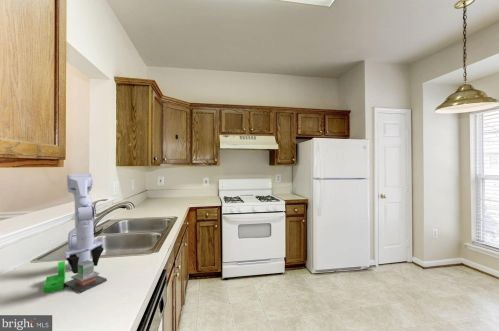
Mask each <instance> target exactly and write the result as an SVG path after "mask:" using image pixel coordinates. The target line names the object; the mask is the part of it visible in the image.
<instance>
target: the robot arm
mask: <svg viewBox="0 0 499 331" xmlns="http://www.w3.org/2000/svg"><path fill="white" fill-rule="evenodd" d="M66 182H67V183H66V185H67V192H68V193H70V194H72V195H73V199H74V225H75V227H74V228H73V229H72V230H70V231H69V232H68V237H67V249H68V250H67V251H64V252H63V258H64V259H66V261H67V265H65V269H66V268H67V269H69V270H72V273H73V274H74V275H77V274H78V263H81V262H84V261H87V260H89V261H92V262H94V267H97V266H98V263H99V261H100V257H101V255H102V253H103V251H104V247H105V241H103V240H101V241H96V242H95V235H94V234H95V233H94V220H95V217H96V209H95V206H94V204H93V203H92V197H91V195H90V194H88V193H89V192H90V191H92V189H93V184H94V176H93V174H92V173H82V174H81V173H80V174H79V173H75V174H69V173H68V175H66ZM91 256H92V257H91ZM91 258H92V260H91Z"/></svg>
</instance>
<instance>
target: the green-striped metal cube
mask: <svg viewBox="0 0 499 331" xmlns="http://www.w3.org/2000/svg"><path fill="white" fill-rule="evenodd" d="M94 271H95V266H94V262H92V260H91V261H89V260H87V261H84V262H81V263H78V273H77V274H78V276H79V277H82V278H85V277H87V276H90V275H92V274H94Z"/></svg>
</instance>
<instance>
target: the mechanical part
mask: <svg viewBox="0 0 499 331" xmlns="http://www.w3.org/2000/svg"><path fill="white" fill-rule="evenodd" d="M65 280H66V262H65V260H64V261H58V264H57V274H54V275H49V276H46V278H45V281H44V284H43V292H44V293H46V294H47V293H50V294H51V293H54V292H59V291H63V290H64V287H65V286H64V283H65Z"/></svg>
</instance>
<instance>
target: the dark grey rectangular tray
mask: <svg viewBox="0 0 499 331" xmlns="http://www.w3.org/2000/svg"><path fill="white" fill-rule="evenodd" d="M70 278H71V279H70V280H67V281H66V282H65V281H64V287H66V288H68V289H70V290H72V291H76V292H78V293H80V294H82V293H84V292H86V291H88V290H91V289H92V288H95V287H97V286H99V285H102V284H104V283H106V282H107V281H108V280H107V278H106V277H103V276H100V272H97V271H95V270H94V274H92V275H90V276H87V277H85V278H82V277H79V276H78V273H76V274H74V275H72V276H71V277H70Z"/></svg>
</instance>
